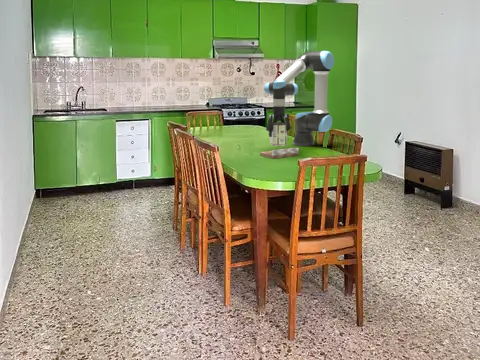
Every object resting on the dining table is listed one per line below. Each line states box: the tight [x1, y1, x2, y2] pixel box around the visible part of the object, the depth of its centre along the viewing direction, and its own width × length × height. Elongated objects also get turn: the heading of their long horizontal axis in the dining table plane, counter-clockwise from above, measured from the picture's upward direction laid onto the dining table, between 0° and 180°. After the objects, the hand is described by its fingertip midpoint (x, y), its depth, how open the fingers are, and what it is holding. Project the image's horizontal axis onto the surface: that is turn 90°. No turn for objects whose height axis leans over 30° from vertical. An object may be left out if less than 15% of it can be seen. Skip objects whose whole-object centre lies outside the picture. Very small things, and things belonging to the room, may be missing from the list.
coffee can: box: [269, 121, 287, 147], centre depth 317 cm, size 10×10×14 cm
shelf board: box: [259, 146, 300, 159], centre depth 318 cm, size 20×14×5 cm
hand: (278, 141), depth 318 cm, fingers closed on coffee can, 10 cm apart
